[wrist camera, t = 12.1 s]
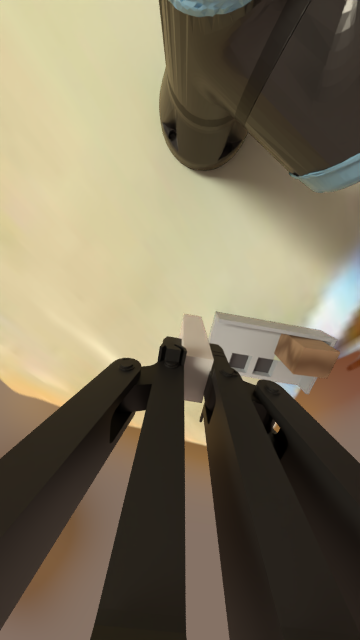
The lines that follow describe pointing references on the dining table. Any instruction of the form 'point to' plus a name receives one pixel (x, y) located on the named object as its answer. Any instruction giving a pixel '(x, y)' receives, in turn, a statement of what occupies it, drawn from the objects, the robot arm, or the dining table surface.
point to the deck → (260, 347)
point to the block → (306, 355)
